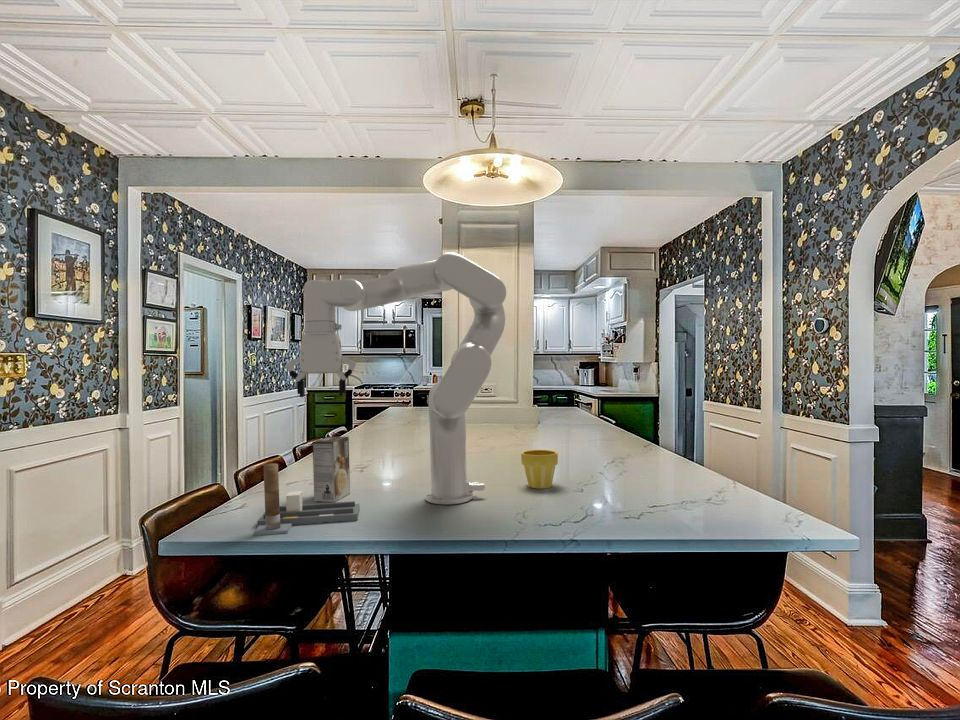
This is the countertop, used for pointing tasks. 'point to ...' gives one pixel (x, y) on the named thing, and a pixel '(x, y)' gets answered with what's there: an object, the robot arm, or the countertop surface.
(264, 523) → the switch panel
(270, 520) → the brown rod
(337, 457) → the coffee box
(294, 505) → the switch tab
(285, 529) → the tool mat
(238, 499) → the countertop surface
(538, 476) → the plant pot
